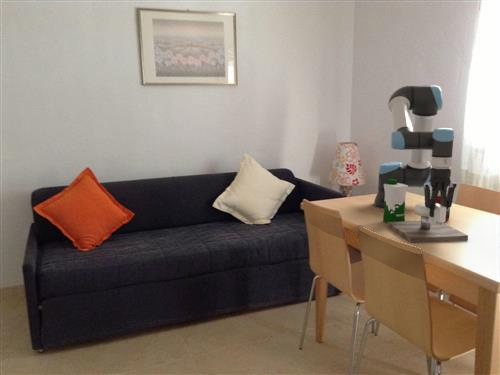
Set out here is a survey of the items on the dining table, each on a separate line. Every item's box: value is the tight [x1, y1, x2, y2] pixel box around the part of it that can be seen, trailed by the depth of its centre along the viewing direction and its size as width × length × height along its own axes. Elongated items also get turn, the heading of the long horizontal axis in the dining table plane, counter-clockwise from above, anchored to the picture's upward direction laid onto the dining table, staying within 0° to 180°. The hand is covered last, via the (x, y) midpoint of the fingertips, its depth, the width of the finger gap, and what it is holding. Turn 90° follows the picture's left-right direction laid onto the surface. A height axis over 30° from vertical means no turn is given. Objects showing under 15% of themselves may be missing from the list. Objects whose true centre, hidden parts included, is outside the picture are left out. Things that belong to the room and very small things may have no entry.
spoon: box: [414, 202, 446, 223], centre depth 183 cm, size 18×9×6 cm, turn 6°
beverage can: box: [436, 193, 451, 222], centre depth 208 cm, size 7×7×12 cm
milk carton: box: [382, 179, 409, 223], centre depth 204 cm, size 9×9×20 cm
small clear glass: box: [420, 216, 431, 230], centre depth 188 cm, size 4×4×6 cm
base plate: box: [386, 220, 469, 244], centre depth 189 cm, size 24×24×2 cm
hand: (436, 224), depth 179 cm, fingers closed on spoon, 2 cm apart
